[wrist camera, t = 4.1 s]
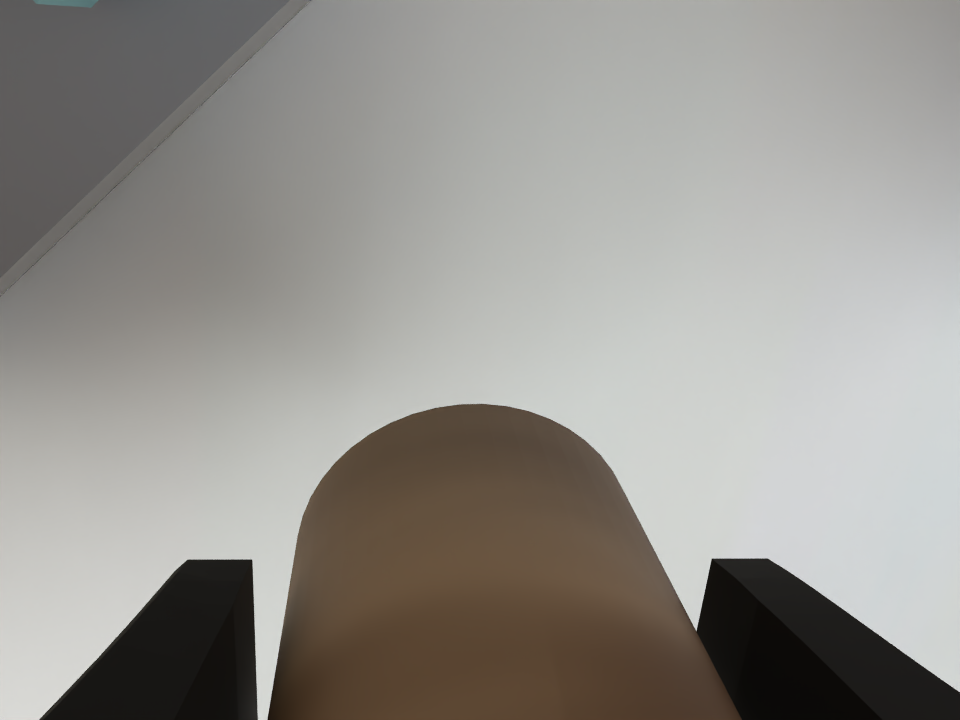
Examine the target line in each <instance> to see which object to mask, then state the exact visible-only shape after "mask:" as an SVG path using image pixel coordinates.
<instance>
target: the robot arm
mask: <svg viewBox="0 0 960 720" xmlns="http://www.w3.org/2000/svg"><path fill="white" fill-rule="evenodd" d="M697 634H698V636H699V638H700V640H701V642H702V644H703V646H704V648H705V649H706V651H707V653H708V655H709V657H710V659H711V661H712V663H713V665H714V667H715V669H716V671H717V673H718V675H719V677H720V678H721V680H722V682H723V684H724V686H725V688H726V690H727V692H728V694H729V696H730V698H731V700H732V702H733V704H734V705H735V707H736V709H737V711H738V713H739V715H740V717H741V719H742V720H960V692H958V691H957V690H955V689H954V688H953V687H951V686H950V685H948V684H947V683H945V682H944V681H943V680H941V679H940V678H938V677H937V676H935V675H934V674H933V673H931V672H930V671H928V670H927V669H925V668H924V667H923V666H921V665H920V664H918V663H917V662H916V661H914V660H913V659H911V658H910V657H909V656H907V655H906V654H904V653H903V652H902V651H900V650H899V649H897V648H896V647H895V646H893V645H892V644H890V643H889V642H888V641H886V640H885V639H883V638H882V637H881V636H879V635H878V634H876V633H875V632H874V631H872V630H871V629H869V628H868V627H867V626H865V625H864V624H862V623H861V622H860V621H858V620H857V619H855V618H854V617H853V616H851V615H850V614H849V613H847V612H846V611H844V610H843V609H842V608H840V607H839V606H837V605H836V604H835V603H833V602H832V601H830V600H829V599H827V598H826V597H825V596H823V595H822V594H820V593H819V592H818V591H816V590H815V589H813V588H812V587H810V586H809V585H807V584H806V583H805V582H803V581H802V580H800V579H799V578H797V577H796V576H794V575H793V574H791V573H790V572H788V571H787V570H785V569H784V568H782V567H780V566H779V565H777V564H775V563H774V562H772V561H771V560H769V559H712V561H711V565H710V570H709V575H708V580H707V584H706V589H705V594H704V599H703V603H702V608H701V613H700V618H699V622H698V627H697ZM40 720H258V716H257V686H256V656H255V627H254V597H253V567H252V560H187V561H186V562H185V563H183V564H182V565H181V566H180V567H179V568H178V569H177V570H176V571H175V572H174V573H173V574H172V575H171V576H170V577H169V579H168V580H167V581H166V582H165V583H164V584H163V586H162V587H161V588H160V589H159V590H158V591H157V592H156V594H155V595H154V596H153V597H152V598H151V599H150V601H149V602H148V603H147V604H146V605H145V606H144V607H143V609H142V610H141V611H140V612H139V613H138V614H137V615H136V616H135V618H134V619H133V620H132V621H131V622H130V623H129V624H128V626H127V627H126V628H125V629H124V630H123V631H122V632H121V633H120V634H119V635H118V637H117V638H116V639H115V640H114V641H113V642H112V643H111V644H110V645H109V647H108V648H107V649H106V650H105V651H104V652H103V653H102V654H101V655H100V656H99V658H98V659H97V660H96V661H95V662H94V663H93V664H92V665H91V666H90V667H89V668H88V669H87V670H86V671H85V672H84V673H83V674H82V676H81V677H80V678H79V679H78V680H77V681H76V682H75V683H74V684H73V685H72V686H71V687H70V688H69V689H68V690H67V691H66V692H65V693H64V694H63V695H62V696H61V698H60V699H59V700H58V701H57V702H56V703H55V704H54V705H53V706H52V707H51V708H50V709H49V710H48V711H47V712H46V713H45V714H44V715H43V716H42V717H41V718H40Z"/></svg>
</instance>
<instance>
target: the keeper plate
mask: <svg viewBox="0 0 960 720" xmlns="http://www.w3.org/2000/svg"><path fill="white" fill-rule="evenodd" d="M33 1H34V2H35V3H36V4H45V5H60V6H75V7H89V8H91V7H92V6H93V5H94V4H95V3H96V2H97V1H98V0H33Z"/></svg>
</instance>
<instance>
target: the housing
mask: <svg viewBox="0 0 960 720" xmlns="http://www.w3.org/2000/svg"><path fill="white" fill-rule="evenodd" d="M310 1H311V0H98V1H97V2H96V3H95V4H94V5H93V6H92V7H91V8H89V7H75V6H60V5H45V4H36V3H35V2H34V1H33V0H0V296H1V295H2V294H3V293H4V292H5V291H6V290H7V289H9V288H10V287H11V286H12V285H13V284H14V283H15V282H16V281H17V280H18V279H19V278H20V277H21V276H22V275H23V274H24V273H25V272H26V271H27V270H28V269H30V268H31V267H32V266H33V265H34V264H35V263H36V262H37V261H38V260H39V259H40V258H41V257H42V256H43V255H44V254H45V253H46V252H47V251H48V250H49V249H51V248H52V247H53V246H54V245H55V244H56V243H57V242H58V241H59V240H60V239H61V238H62V237H63V236H64V235H65V234H66V233H67V232H68V231H69V230H70V229H72V228H73V227H74V226H75V225H76V224H77V223H78V222H79V221H80V220H81V219H82V218H83V217H84V216H85V215H86V214H87V213H88V212H89V211H90V210H91V209H92V208H94V207H95V206H96V205H97V204H98V203H99V202H100V201H101V200H102V199H103V198H104V197H105V196H106V195H107V194H108V193H109V192H110V191H111V190H112V189H113V188H115V187H116V186H117V185H118V184H119V183H120V182H121V181H122V180H123V179H124V178H125V177H126V176H127V175H128V174H129V173H130V172H131V171H132V170H133V169H134V168H136V167H137V166H138V165H139V164H140V163H141V162H142V161H143V160H144V159H145V158H146V157H147V156H148V155H149V154H150V153H151V152H152V151H153V150H154V149H155V148H157V147H158V146H159V145H160V144H161V143H162V142H163V141H164V140H165V139H166V138H167V137H168V136H169V135H170V134H171V133H172V132H173V131H174V130H175V129H176V128H177V127H179V126H180V125H181V124H182V123H183V122H184V121H185V120H186V119H187V118H188V117H189V116H190V115H191V114H192V113H193V112H194V111H195V110H196V109H197V108H198V107H200V106H201V105H202V104H203V103H204V102H205V101H206V100H207V99H208V98H209V97H210V96H211V95H212V94H213V93H214V92H215V91H216V90H217V89H218V88H219V87H221V86H222V85H223V84H224V83H225V82H226V81H227V80H228V79H229V78H230V77H231V76H232V75H233V74H234V73H235V72H236V71H237V70H238V69H239V68H240V67H242V66H243V65H244V64H245V63H246V62H247V61H248V60H249V59H250V58H251V57H252V56H253V55H254V54H255V53H256V52H257V51H258V50H259V49H260V48H261V47H263V46H264V45H265V44H266V43H267V42H268V41H269V40H270V39H271V38H272V37H273V36H274V35H275V34H276V33H277V32H278V31H279V30H280V29H281V28H282V27H284V26H285V25H286V24H287V23H288V22H289V21H290V20H291V19H292V18H293V17H294V16H295V15H296V14H297V13H298V12H299V11H300V10H301V9H302V8H303V7H304V6H306V5H307V4H308V3H309V2H310Z"/></svg>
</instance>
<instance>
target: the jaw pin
mask: <svg viewBox="0 0 960 720" xmlns="http://www.w3.org/2000/svg"><path fill="white" fill-rule="evenodd" d="M268 720H742V719H741V717H740V715H739V713H738V711H737V709H736V707H735V705H734V704H733V702H732V700H731V698H730V696H729V694H728V692H727V690H726V688H725V686H724V684H723V682H722V680H721V678H720V677H719V675H718V673H717V671H716V669H715V667H714V665H713V663H712V661H711V659H710V657H709V655H708V653H707V651H706V649H705V648H704V646H703V644H702V642H701V640H700V638H699V636H698V634H697V632H696V630H695V628H694V626H693V624H692V622H691V620H690V619H689V617H688V615H687V613H686V611H685V609H684V607H683V605H682V603H681V601H680V599H679V597H678V595H677V593H676V592H675V590H674V588H673V586H672V584H671V582H670V580H669V578H668V576H667V574H666V572H665V570H664V568H663V566H662V564H661V563H660V561H659V559H658V557H657V555H656V553H655V551H654V549H653V547H652V545H651V543H650V541H649V539H648V537H647V535H646V534H645V532H644V530H643V528H642V526H641V524H640V522H639V520H638V518H637V516H636V514H635V512H634V510H633V508H632V507H631V505H630V503H629V501H628V499H627V497H626V495H625V493H624V491H623V489H622V487H621V485H620V484H619V482H618V480H617V478H616V476H615V475H614V473H613V471H612V469H611V468H610V467H609V466H608V464H607V463H606V462H605V460H604V459H603V458H602V457H601V455H600V454H599V453H598V452H597V451H596V450H595V449H594V448H592V447H591V446H590V445H589V444H588V443H587V442H586V441H585V440H584V439H582V438H581V437H579V436H578V435H577V434H575V433H574V432H572V431H571V430H570V429H568V428H566V427H564V426H562V425H560V424H558V423H556V422H555V421H553V420H551V419H548V418H546V417H543V416H540V415H537V414H535V413H532V412H529V411H525V410H521V409H516V408H512V407H507V406H498V405H488V404H463V405H453V406H446V407H439V408H434V409H430V410H426V411H423V412H419V413H415V414H412V415H409V416H407V417H404V418H402V419H399V420H397V421H394V422H392V423H390V424H388V425H386V426H384V427H382V428H380V429H379V430H377V431H375V432H373V433H371V434H370V435H368V436H367V437H365V438H364V439H363V440H361V441H360V442H358V443H357V444H356V445H354V446H353V447H351V448H350V449H349V450H348V451H347V452H346V453H345V454H344V455H343V456H342V457H341V458H340V459H339V460H338V461H337V462H335V464H334V465H333V466H332V467H331V469H330V470H329V471H328V472H327V473H326V475H325V476H324V477H323V478H322V480H321V481H320V483H319V484H318V486H317V488H316V489H315V491H314V493H313V494H312V496H311V498H310V500H309V503H308V505H307V507H306V510H305V512H304V514H303V517H302V521H301V525H300V529H299V533H298V538H297V544H296V550H295V556H294V562H293V568H292V574H291V580H290V587H289V593H288V599H287V605H286V611H285V617H284V623H283V629H282V635H281V641H280V647H279V653H278V659H277V666H276V672H275V678H274V684H273V690H272V696H271V702H270V708H269V714H268Z"/></svg>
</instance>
